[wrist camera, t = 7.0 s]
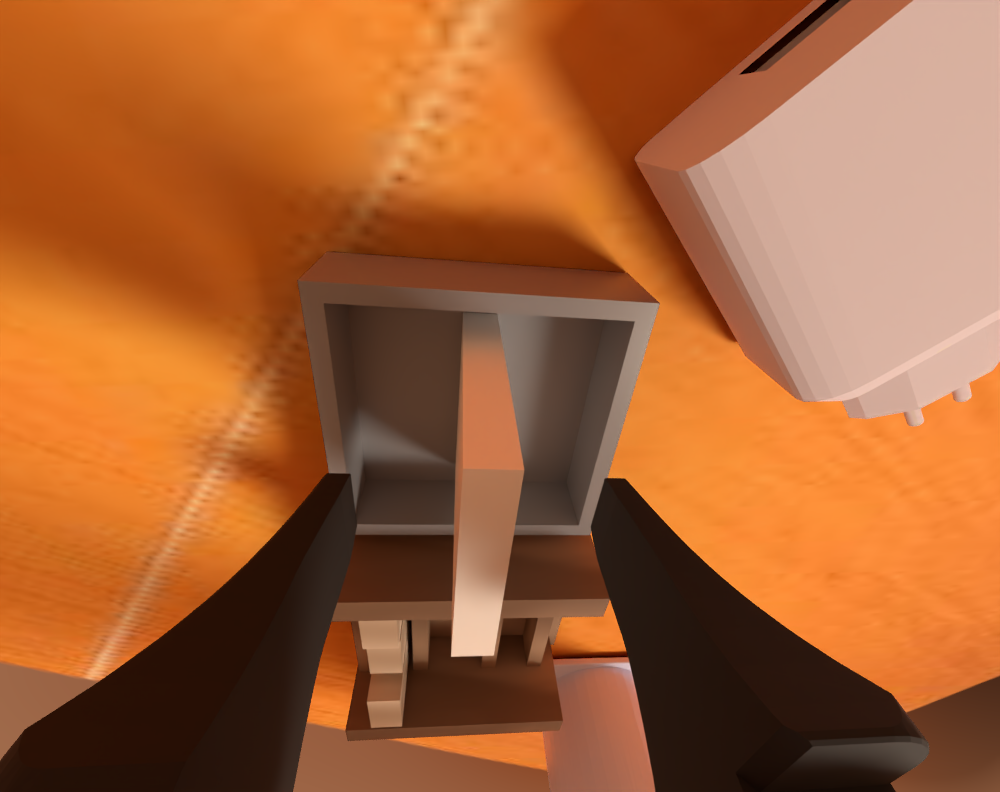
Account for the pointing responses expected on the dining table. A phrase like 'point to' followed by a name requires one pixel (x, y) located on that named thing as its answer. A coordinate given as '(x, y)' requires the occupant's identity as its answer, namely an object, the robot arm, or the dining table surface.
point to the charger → (851, 202)
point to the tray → (436, 377)
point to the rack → (428, 604)
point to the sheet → (483, 487)
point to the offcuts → (386, 669)
